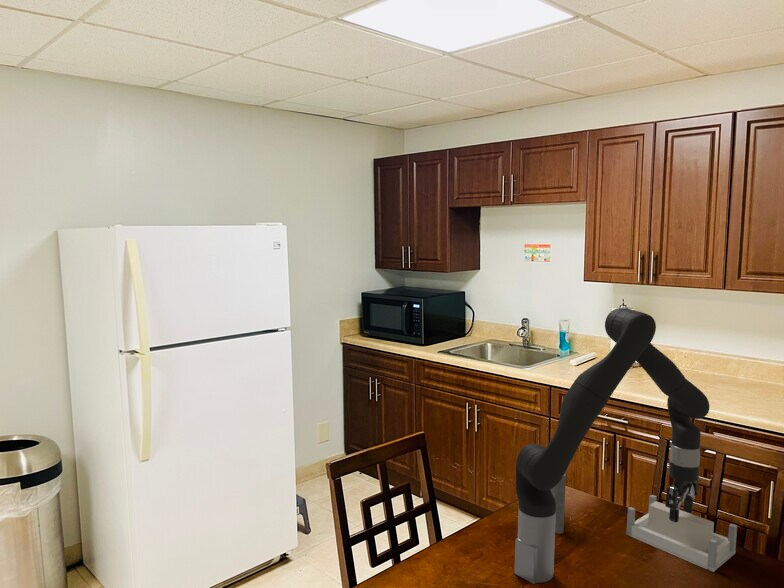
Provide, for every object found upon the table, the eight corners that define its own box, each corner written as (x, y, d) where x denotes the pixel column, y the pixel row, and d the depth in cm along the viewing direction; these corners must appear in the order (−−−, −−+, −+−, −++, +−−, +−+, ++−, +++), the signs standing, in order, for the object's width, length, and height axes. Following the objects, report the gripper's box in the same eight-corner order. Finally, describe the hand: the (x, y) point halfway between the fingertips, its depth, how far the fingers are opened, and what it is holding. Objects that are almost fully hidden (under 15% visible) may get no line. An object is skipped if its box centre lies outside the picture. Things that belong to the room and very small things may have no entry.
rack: (713, 572, 153) (715, 543, 152) (626, 534, 171) (627, 508, 170) (735, 553, 162) (737, 525, 161) (650, 519, 180) (651, 494, 179)
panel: (705, 555, 159) (707, 526, 158) (647, 531, 171) (649, 505, 170) (712, 549, 161) (713, 522, 161) (654, 527, 174) (656, 501, 173)
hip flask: (565, 533, 172) (567, 467, 169) (551, 533, 172) (553, 467, 169) (549, 507, 187) (551, 447, 185) (536, 507, 187) (538, 447, 185)
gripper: (686, 472, 156) (682, 530, 158) (709, 458, 165) (706, 513, 167) (658, 463, 162) (655, 519, 164) (682, 450, 171) (679, 504, 173)
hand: (680, 516), depth 165 cm, fingers open, 8 cm apart
